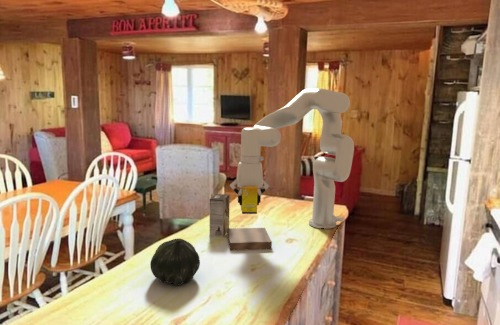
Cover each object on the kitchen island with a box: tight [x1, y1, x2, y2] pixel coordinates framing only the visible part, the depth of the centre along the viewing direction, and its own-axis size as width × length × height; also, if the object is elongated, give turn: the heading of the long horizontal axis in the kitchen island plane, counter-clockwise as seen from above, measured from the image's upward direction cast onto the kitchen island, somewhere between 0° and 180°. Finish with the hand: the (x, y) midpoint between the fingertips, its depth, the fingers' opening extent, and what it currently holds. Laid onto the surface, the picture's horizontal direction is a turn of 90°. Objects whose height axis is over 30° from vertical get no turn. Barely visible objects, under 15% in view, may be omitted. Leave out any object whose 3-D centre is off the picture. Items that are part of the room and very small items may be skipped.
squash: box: [150, 238, 201, 286], centre depth 123 cm, size 14×15×15 cm
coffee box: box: [209, 193, 230, 238], centre depth 165 cm, size 9×6×16 cm
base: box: [226, 227, 273, 251], centre depth 157 cm, size 16×16×3 cm
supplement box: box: [240, 186, 258, 215], centre depth 154 cm, size 6×6×11 cm
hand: (249, 204), depth 154 cm, fingers closed on supplement box, 6 cm apart
